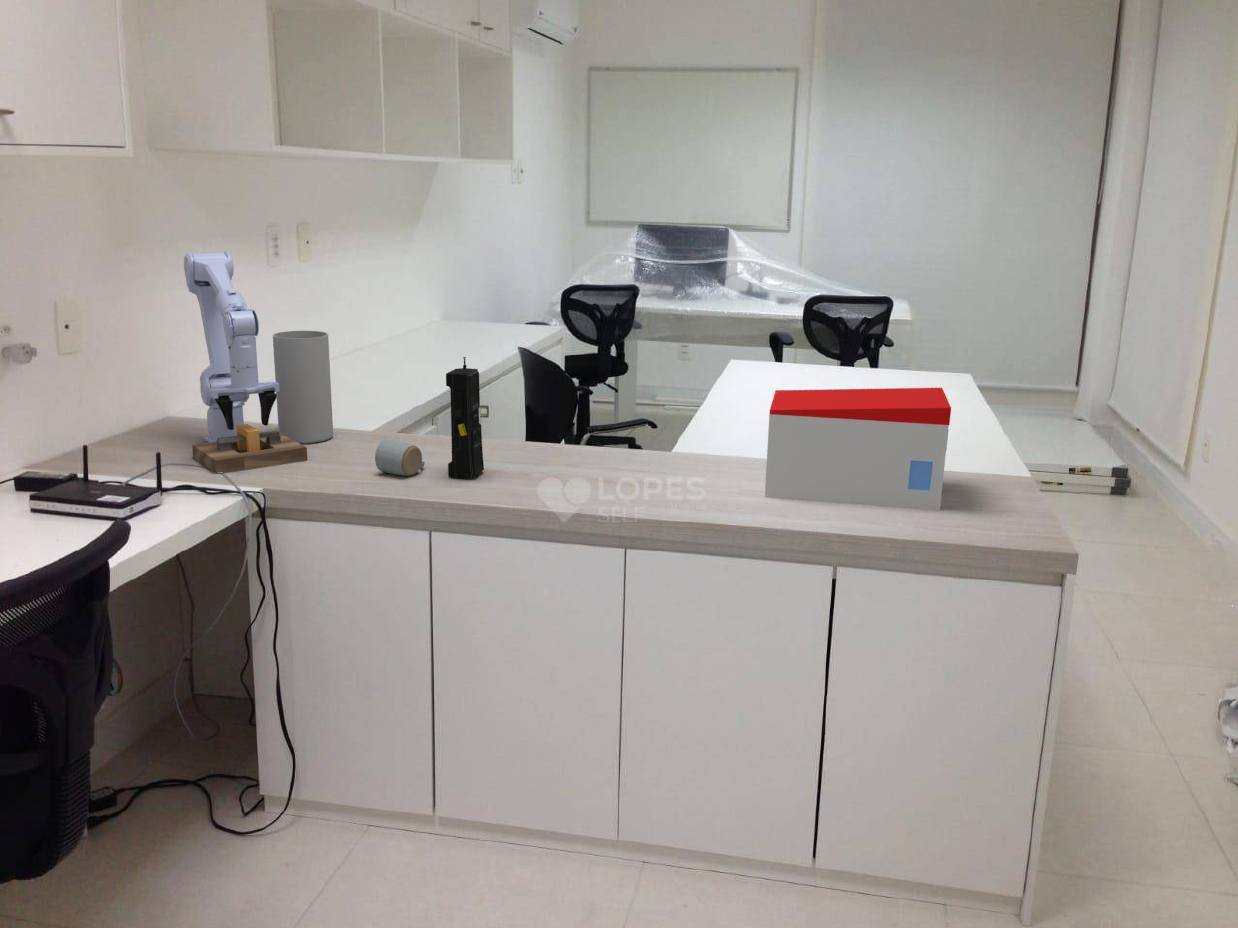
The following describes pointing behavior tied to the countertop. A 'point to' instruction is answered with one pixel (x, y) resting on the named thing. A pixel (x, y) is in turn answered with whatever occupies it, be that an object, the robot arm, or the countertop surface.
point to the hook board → (249, 453)
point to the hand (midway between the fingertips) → (247, 426)
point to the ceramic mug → (398, 457)
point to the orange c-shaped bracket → (248, 438)
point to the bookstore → (858, 446)
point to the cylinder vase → (303, 385)
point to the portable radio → (465, 423)
